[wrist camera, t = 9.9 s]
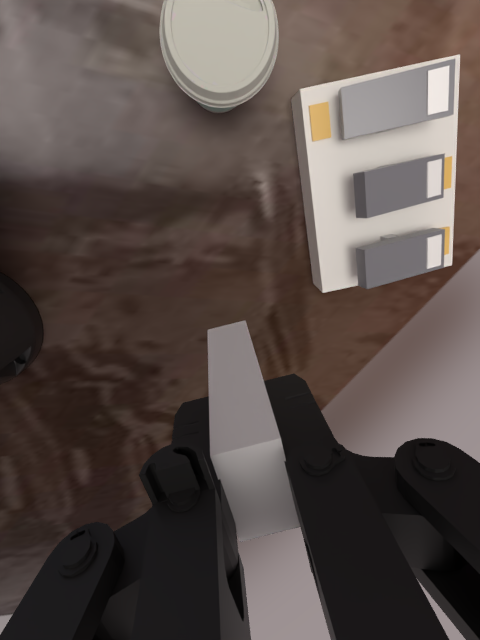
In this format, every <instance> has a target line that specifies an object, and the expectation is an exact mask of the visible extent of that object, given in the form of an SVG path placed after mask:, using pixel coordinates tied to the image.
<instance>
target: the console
mask: <svg viewBox="0 0 480 640" xmlns="http://www.w3.org/2000/svg"><path fill="white" fill-rule="evenodd" d="M451 59H455V87H454V115H451V116H448V117H444V118H440V119H435V120H431V121H426V122H422V123H417V124H413V125H409V126H404V127H400V128H395V129H391V130H386V131H382V132H377V133H373V134H368V135H364V136H360V137H355V138H351V139H346V140H342V136H341V122H340V109H339V96H338V91H339V89H340V88H341V87H344V86H348V85H352V84H356V83H360V82H364V81H368V80H372V79H376V78H380V77H384V76H388V75H392V74H396V73H400V72H404V71H408V70H412V69H416V68H420V67H423V66H427V65H431V64H435V63H439V62H443V61H447V60H451ZM459 70H460V55H455V56H450V57H446V58H441V59H437V60H432V61H427V62H423V63H418V64H414V65H409V66H404V67H400V68H395V69H390V70H386V71H381V72H377V73H372V74H367V75H363V76H358V77H353V78H349V79H344V80H340V81H335V82H330V83H326V84H321V85H317V86H312V87H307V88H303V89H300V90H299V91H298V92H297V93H296V94H295V95H294V96H293V98H292V99H291V105H292V113H293V121H294V129H295V138H296V146H297V154H298V162H299V171H300V179H301V187H302V195H303V204H304V212H305V220H306V228H307V236H308V245H309V253H310V261H311V269H312V278H313V284H314V285H315V286H316V287H317V288H318V289H319V290H320V291H321V292H322V293H325V292H329V291H334V290H339V289H343V288H348V287H353V286H357V285H358V276H357V262H356V248H357V247H361V246H365V245H369V244H373V243H377V242H380V241H384V240H388V239H392V238H396V237H400V236H404V235H407V234H411V233H415V232H419V231H423V230H427V229H430V228H440V229H445V246H444V267H446V266H451V265H452V251H453V225H454V200H455V174H456V148H457V122H458V96H459ZM444 153H445V162H444V198H441V199H437V200H433V201H430V202H426V203H422V204H418V205H415V206H411V207H407V208H404V209H400V210H396V211H392V212H389V213H385V214H381V215H378V216H374V217H370V218H356V209H355V194H354V179H353V173H358V172H362V171H366V170H371V169H375V168H379V167H384V166H388V165H393V164H397V163H401V162H406V161H410V160H414V159H419V158H423V157H427V156H432V155H438V154H444Z"/></svg>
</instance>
